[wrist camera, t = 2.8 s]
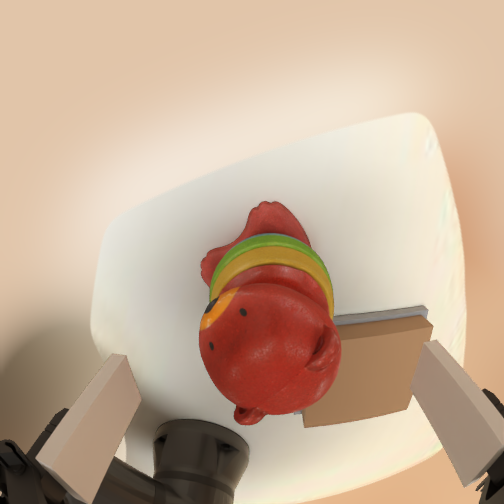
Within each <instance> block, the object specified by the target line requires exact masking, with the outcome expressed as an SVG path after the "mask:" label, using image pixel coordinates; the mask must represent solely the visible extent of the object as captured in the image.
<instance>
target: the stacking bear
mask: <svg viewBox="0 0 504 504" xmlns="http://www.w3.org/2000/svg"><path fill="white" fill-rule="evenodd" d="M201 268H202V271H201V276H202V278H203V280H204V281H205V283H206V284H207V285H208V286H209V287H210V295H209V300H210V303H209V305H208V306H207V308H206V310H205V313H204V315H203V317H202V320H201V323H200V331H199V347H200V353H201V357H202V360H203V362H204V365H205V368H206V370H207V372H208V374H209V376H210V378H211V379H212V381H213V383H214V384H215V386H216V387H217V388H218V390H219V391H220V392H221V393H222V394H223V395H224V396H225V397H226V398H227V399H228V400H230V401H231V402H233V403H234V404H236V409H235V411H234V419H235V421H236V422H237V423H239V424H241V425H253V424H256V423H258V422H259V421H260V420H261V419H262V418H263V417H264V416H265V415H267V414H269V415H280V414H288V413H293V412H297V411H300V410H302V409H305V408H307V407H309V406H311V405H313V404H314V403H316V402H317V401H318V400H319V399H321V398H322V397H323V396H324V395H325V394H326V393H327V391H328V390H329V389H330V387H331V386H332V384H333V382H334V380H335V379H336V376H337V374H338V371H339V367H340V362H341V351H342V349H341V341H340V337H339V334H338V331H337V328H336V326H335V324H334V323H333V315H334V299H333V289H332V283H331V280H330V276H329V274H328V271H327V269H326V267H325V265H324V263H323V262H322V260H321V259H320V257H319V256H318V255H317V254H316V253H315V252H314V251H313V250H312V249H311V245H310V242H309V240H308V237H307V235H306V233H305V231H304V229H303V228H302V226H301V225H300V223H299V222H298V220H297V219H296V218H295V217H294V215H293V214H292V213H291V212H290V211H289V210H288V209H287V208H286V207H285V206H283V205H282V204H281V203H279V202H272V203H269V202H267V201H264V202H261V203H260V204H259V206H258V207H256V208H253V209H252V210H251V211H250V213H249V216H248V221H247V224H246V227H245V229H244V231H243V232H242V234H241V235H240V236H239V237H238V238H237V239H236V240H235V241H234V242H232V243H231V244H229V245H227V246H224V247H220V248H215V249H213V250H210V251H209V252H208V253H207V256H206V257H205V258H203V260H202V261H201Z"/></svg>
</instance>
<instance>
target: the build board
mask: <svg viewBox="0 0 504 504" xmlns="http://www.w3.org/2000/svg"><path fill="white" fill-rule="evenodd" d="M427 314H428V309H427V308H426V307H425V306H418V307H411V308H404V309H396V310H389V311H380V312H372V313H363V314H353V315H343V316H333V323H334V324H335V326H336V328H337V331H338V334H339V337H340V341H341V349H342V351H341V362H340V367H339V371H338V374H337V376H336V379H335V380H334V382H333V384H332V386H331V387H330V389H329V390H328V391H327V393H326V394H325V395H324V396H323V397H322V398H321V399H319V400H318V401H317V402H316V403H314V404H313V405H311V406H309V407H307V408H305V409H302V410H300V411H297V412H294V414H302V416H303V423H304V428H308V427H317V426H325V425H333V424H340V423H346V422H352V421H358V420H363V419H368V418H373V417H378V416H382V415H386V414H391V413H395V412H399V411H402V410H406V409H407V408H408V405H409V403H410V400H411V397H412V395H413V393H412V391H411V390H410V385H411V382H412V379H413V376H414V373H415V370H416V367H417V364H418V360H419V357H420V353H421V350H422V346H423V343H424V342H428V341H430V338H431V334H432V330H433V325H432V324H431V323H430V322H429V321H428V320H426V319H427Z"/></svg>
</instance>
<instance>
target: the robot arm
mask: <svg viewBox="0 0 504 504" xmlns="http://www.w3.org/2000/svg"><path fill="white" fill-rule="evenodd" d="M410 390H411V391H412V393H413V395H414V396H415V398H416V400H417V401H418V403H419V405H420V406H421V408H422V410H423V411H424V413H425V415H426V417H427V418H428V420H429V422H430V424H431V425H432V427H433V429H434V431H435V433H436V434H437V436H438V438H439V440H440V442H441V444H442V445H443V447H444V449H445V451H446V453H447V455H448V457H449V459H450V460H451V462H452V464H453V466H454V468H455V470H456V472H457V474H458V476H459V478H460V480H461V482H462V485H463V487H464V488H465V487H467V486H469V485H470V484H472V483H474V482H476V481H477V480H479V479H480V478H481V477H482V475H484V474H485V472H486V471H487V473H488V476H487V477H486V478H485V479H484V480H483V481H482V482H481V483H480V484H479V485H478V486H477V488H476V491H478V490H479V489H480V488H481V487H482V486H483V485H484V487H483V489H482V490H481V491H482V494H481V498H480V501H479V504H504V406H503V404H502V403H500V401H499V399H498V398H497V397H496V396H495V395H494V394H493V393H492V392H490V391H488V390H487V389H483V390H481V389H480V388H479V387H478V386H477V384H476V383H475V382H474V381H473V380H472V379H471V377H470V376H469V375H468V374H467V373H466V372H465V371H464V369H463V368H462V367H461V366H460V365H459V364H458V363H457V361H456V360H455V359H454V358H453V357H452V356H451V355H450V354H449V353H448V352H447V350H446V349H445V348H444V347H443V346H442V345H441V344H440V343H439V342H438V341H437V340H432V341H428V342H424V343H423V346H422V350H421V353H420V357H419V360H418V364H417V367H416V370H415V373H414V376H413V379H412V382H411V385H410ZM141 400H142V398H141V396H140V393H139V391H138V388H137V385H136V383H135V380H134V377H133V374H132V371H131V368H130V365H129V363H128V359H127V356H126V355H119V354H111V356H110V357H109V358H108V360H107V361H106V362H105V363H104V365H103V366H102V367H101V369H100V370H99V371H98V373H97V374H96V375H95V376H94V378H93V379H92V380H91V381H90V383H89V384H88V385H87V387H86V388H85V389H84V391H83V392H82V393H81V395H80V396H79V397H78V399H77V400H76V401H75V403H74V404H73V406H72V407H71V408H70V409H66V408H64V409H63V410H61V411H60V412H58V413H57V414H55V416H54V417H53V419H52V420H51V421H50V424H49V425H47V427H46V428H45V431H43V432H42V433H41V435H40V436H39V437H38V439H37V440H36V442H35V443H34V444H33V446H32V447H31V449H30V450H29V451H28V453H27V454H26V455H25V454H24V453H23V452H22V450H21V449H20V448H19V447H18V446H17V444H16V443H15V442H14V441H12V440H2V441H0V491H1V492H2V495H1V496H0V504H233V500H234V491H235V488H236V487H237V485H238V483H239V481H240V479H241V477H242V475H243V473H244V471H245V469H246V468H247V465H248V461H249V448H248V445H247V444H246V442H245V441H244V440H243V439H242V438H241V437H240V436H238V435H237V434H236V433H234V432H232V431H230V430H228V429H226V428H224V427H221V426H219V425H216V424H212V423H208V422H204V421H197V420H175V421H170V422H167V423H165V424H163V425H162V426H160V427H159V428H158V430H157V432H156V435H155V437H154V440H153V459H154V476H153V478H151V477H150V476H148V475H146V474H144V473H142V472H140V471H139V470H137V469H135V468H133V467H132V466H130V465H128V464H126V463H125V462H123V461H121V460H120V459H118V458H117V457H115V456H114V455H115V452H116V451H117V449H118V447H119V444H120V442H121V440H122V438H123V436H124V434H125V432H126V430H127V428H128V426H129V424H130V422H131V420H132V418H133V416H134V414H135V412H136V410H137V408H138V406H139V404H140V402H141Z"/></svg>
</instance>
